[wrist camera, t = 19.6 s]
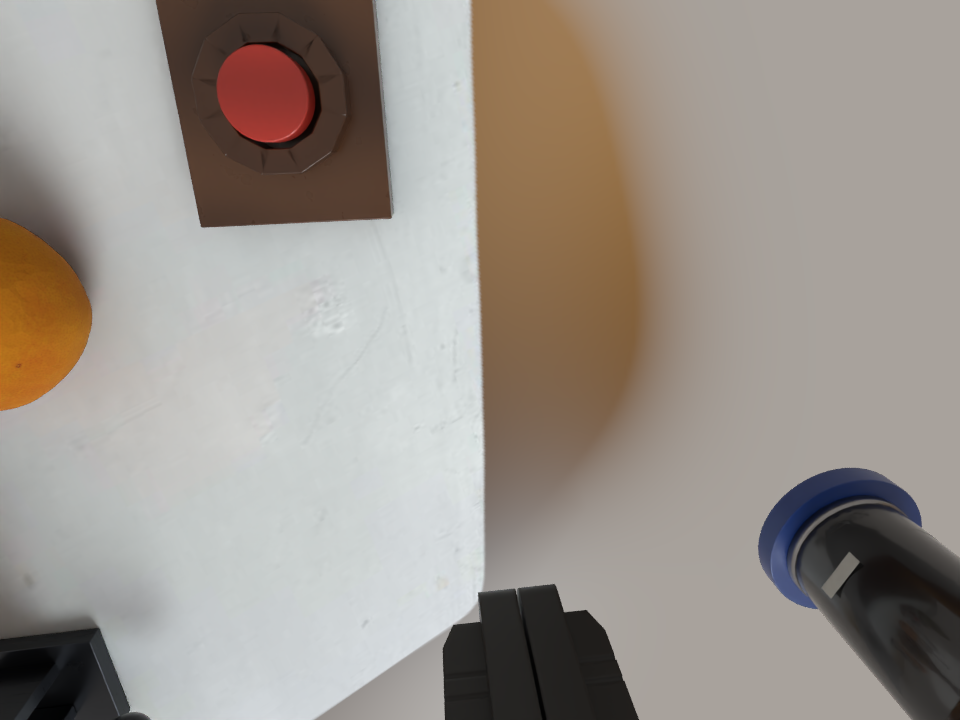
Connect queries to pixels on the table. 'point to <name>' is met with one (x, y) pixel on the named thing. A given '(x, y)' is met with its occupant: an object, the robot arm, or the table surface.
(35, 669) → the tap bracket
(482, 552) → the table surface
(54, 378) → the fruit
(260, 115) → the button
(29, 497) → the table surface
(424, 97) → the table surface
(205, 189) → the button block
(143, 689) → the table surface
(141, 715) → the tap lever
